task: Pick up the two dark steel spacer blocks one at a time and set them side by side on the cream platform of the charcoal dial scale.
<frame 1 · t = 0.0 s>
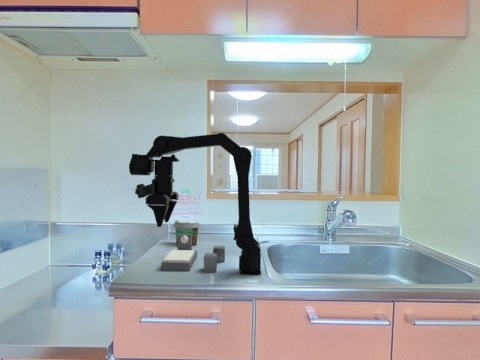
hand: (163, 224, 104), 15 cm above the worktop, tool pointing down, fingers open, 9 cm apart
scale: (180, 263, 112), on the worktop
spacer 2: (210, 270, 105), on the worktop
spacer 1: (218, 260, 116), on the worktop
food container: (183, 245, 140), on the worktop
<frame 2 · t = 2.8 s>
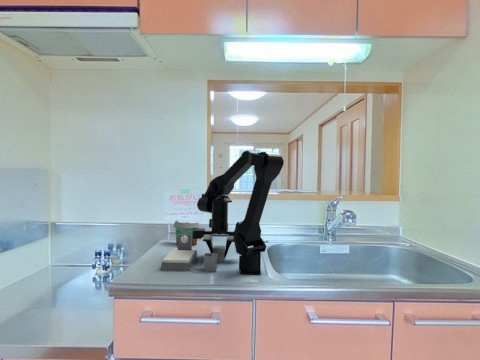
hand: (219, 257, 116), 1 cm above the worktop, tool pointing down, fingers closed on spacer 1, 4 cm apart
spacer 1: (219, 260, 116), on the worktop, touching gripper
everything else where it was.
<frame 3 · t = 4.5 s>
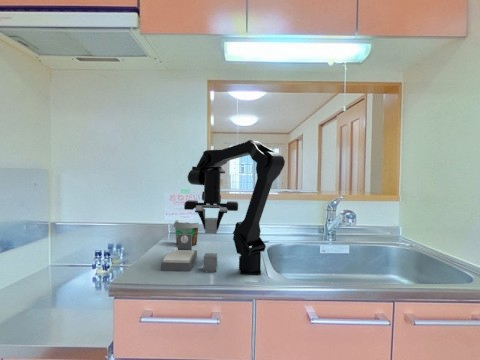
hand: (211, 229, 116), 11 cm above the worktop, tool pointing down, fingers closed on spacer 1, 4 cm apart
spacer 1: (211, 232, 116), point 10 cm above the worktop, touching gripper
everything else where it was.
when the fingers open (6 cm above the worktop, at t = 6.3 s): spacer 1 drops 1 cm, resting on scale.
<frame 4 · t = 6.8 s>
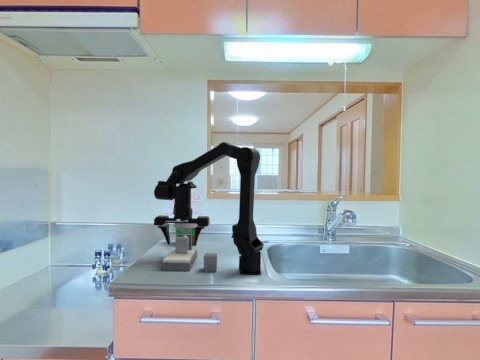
hand: (182, 245, 114), 6 cm above the worktop, tool pointing down, fingers open, 9 cm apart
spacer 1: (182, 252, 115), point 3 cm above the worktop, touching scale
everything else where it was.
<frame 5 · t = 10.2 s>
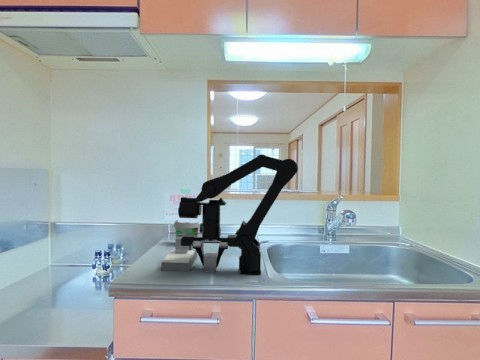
hand: (210, 266, 105), 1 cm above the worktop, tool pointing down, fingers closed on spacer 2, 4 cm apart
spacer 2: (210, 269, 105), on the worktop, touching gripper
everything else where it was.
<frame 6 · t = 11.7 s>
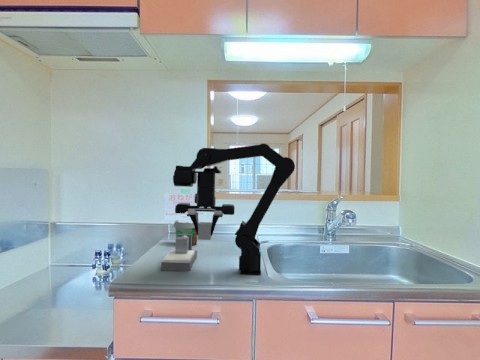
hand: (204, 235, 105), 11 cm above the worktop, tool pointing down, fingers closed on spacer 2, 4 cm apart
spacer 2: (204, 238, 105), point 10 cm above the worktop, touching gripper
everything else where it was.
when the fingers open (6 cm above the worktop, at t = 13.5 s): spacer 2 drops 1 cm, resting on scale.
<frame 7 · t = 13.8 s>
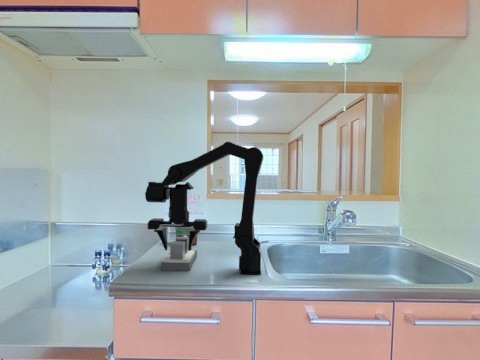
hand: (177, 250, 107), 6 cm above the worktop, tool pointing down, fingers open, 7 cm apart
spacer 2: (177, 257, 107), point 3 cm above the worktop, touching scale
everything else where it was.
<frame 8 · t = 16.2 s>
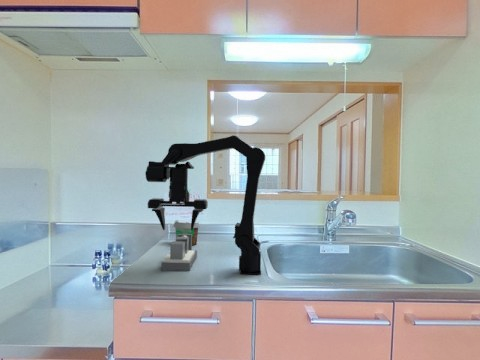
hand: (177, 230, 107), 12 cm above the worktop, tool pointing down, fingers open, 9 cm apart
nothing on the worktop moved.
at the end: spacer 1 0.1 cm from the target spot on the scale, point 3.3 cm above the scale's base; spacer 2 0.2 cm from the target spot on the scale, point 3.3 cm above the scale's base; spacer 2 tilted 0° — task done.
